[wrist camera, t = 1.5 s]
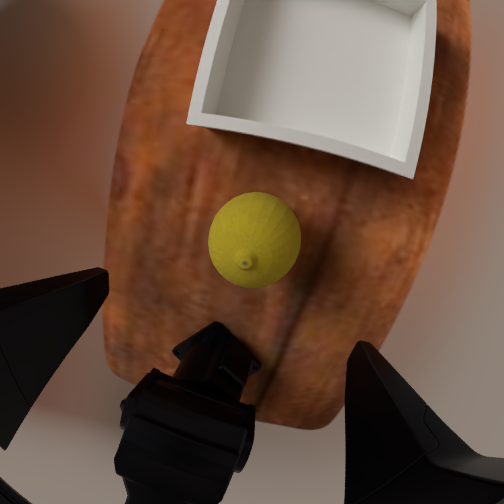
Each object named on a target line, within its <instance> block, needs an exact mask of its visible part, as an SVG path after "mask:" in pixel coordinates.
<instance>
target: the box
mask: <svg viewBox="0 0 504 504" xmlns="http://www.w3.org/2000/svg"><path fill="white" fill-rule="evenodd" d="M435 43H436V0H217V3H216V7H215V10H214V13H213V16H212V20H211V23H210V27H209V30H208V34H207V37H206V41H205V45H204V48H203V52H202V56H201V60H200V64H199V68H198V72H197V76H196V81H195V85H194V89H193V94H192V99H191V103H190V108H189V113H188V118H187V123H186V124H189V125H194V126H199V127H204V128H210V129H217V130H223V131H229V132H235V133H240V134H246V135H251V136H256V137H261V138H266V139H271V140H276V141H280V142H285V143H289V144H293V145H298V146H302V147H306V148H310V149H314V150H318V151H321V152H325V153H329V154H332V155H336V156H339V157H343V158H346V159H350V160H353V161H356V162H360V163H363V164H366V165H369V166H372V167H375V168H378V169H381V170H384V171H387V172H390V173H393V174H397V175H400V176H403V177H407V178H410V179H413V178H414V174H415V170H416V166H417V162H418V157H419V153H420V148H421V144H422V139H423V134H424V129H425V124H426V118H427V112H428V106H429V100H430V93H431V85H432V77H433V68H434V57H435Z"/></svg>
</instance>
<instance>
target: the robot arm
mask: <svg viewBox="0 0 504 504" xmlns="http://www.w3.org/2000/svg"><path fill="white" fill-rule="evenodd" d="M108 294H109V274H108V271H107V270H105V269H102V268H99V267H96V268H92V269H87V270H82V271H78V272H73V273H68V274H63V275H59V276H54V277H50V278H46V279H41V280H36V281H32V282H27V283H23V284H19V285H13V286H9V287H4V288H0V447H1V448H2V449H3V450H6V449H7V447H8V446H9V444H10V442H11V440H12V439H13V437H14V435H15V433H16V431H17V430H18V428H19V427H20V425H21V423H22V422H23V420H24V418H25V417H26V415H27V414H28V412H29V411H30V407H32V406H33V404H34V402H35V401H36V399H37V398H38V396H39V395H40V393H41V392H42V390H43V388H44V387H45V386H46V384H47V383H48V381H49V380H50V378H51V377H52V375H53V374H54V373H55V371H56V370H57V368H58V367H59V365H60V364H61V363H62V361H63V360H64V359H65V357H66V355H67V354H68V353H69V352H70V350H71V349H72V348H73V346H74V345H75V344H76V342H77V341H78V339H79V338H80V337H81V336H82V334H83V333H84V331H85V330H86V329H87V327H88V326H89V324H90V323H91V322H92V320H93V318H94V317H95V315H96V314H97V312H98V310H99V309H100V307H101V306H102V304H103V302H104V301H105V299H106V298H107V296H108ZM214 326H216V327H218V328H215V327H214ZM177 351H178V352H177ZM172 352H173V354H174V355H175V356H176V357H177V358H178V359H179V360H180V361H181V362H180V364H179V366H178V368H177V370H176V371H175V373H174V375H173V377H171V376H169V375H167V374H164V373H162V372H160V370H158V369H156V368H153V369H152V370H151V372H150V373H147V374H146V376H145V377H144V378H143V379H142V380H141V381H140V382H139V383H138V385H137V386H136V387H135V388H134V389H133V390H132V391H131V392H130V394H129V395H128V397H127V398H125V399H124V400H122V402H121V404H120V408H121V410H122V417H121V421H120V427H121V429H123V430H124V433H123V436H122V439H121V441H120V444H119V447H118V450H117V453H116V455H115V457H114V464H115V470H116V474H118V475H120V476H121V477H122V478H123V481H124V485H125V488H126V491H127V495H128V496H127V499H126V502H125V504H218V503H219V502H221V501H222V499H223V496H224V494H225V492H226V490H227V487H228V485H229V483H230V480H231V478H232V475H233V473H234V472H236V473H240V472H241V471H242V470H243V468H244V466H245V464H246V462H247V460H248V458H249V455H250V452H251V449H252V445H253V441H254V430H255V405H251V404H249V405H248V404H244V403H241V402H240V398H241V394H242V390H243V387H245V385H246V381H247V377H248V376H249V375H251V374H253V373H255V372H257V371H259V370H260V369H261V363H260V362H259V361H258V360H257V359H256V358H255V357H254V356H253V355H252V354H251V353H250V352H249V351H248V350H247V349H246V348H245V347H244V346H243V345H242V344H241V343H240V342H239V341H238V340H237V339H236V338H235V337H233V336H232V335H231V334H230V333H229V332H228V331H227V330H226V329H225V328H224V327H223V326H222V325H221V324H220V323H219V322H212V323H211V324H209V325H208V326H206V327H205V328H203V329H202V330H200V331H199V332H197V333H196V334H194V335H192V336H191V337H189V338H188V339H186V340H185V341H183V342H181V343H180V344H178V345H177V346H175V347H174V348H173V350H172ZM255 366H258V367H255ZM345 435H346V438H345V439H346V464H345V465H346V466H345V470H346V471H345V498H344V504H504V458H495V457H486V456H483V455H480V454H478V453H477V452H475V451H474V450H473V449H471V448H470V447H469V446H468V445H467V444H466V443H465V442H464V441H463V440H462V439H461V438H460V437H458V435H457V434H456V433H454V432H453V431H452V430H451V429H450V428H449V427H448V426H447V425H446V424H445V423H444V422H443V421H442V420H441V419H440V418H439V417H438V416H437V415H436V413H435V412H434V411H433V410H432V409H431V408H430V407H429V406H428V405H427V404H426V402H425V401H424V400H423V399H422V398H421V397H420V396H419V395H418V394H417V393H416V392H415V390H414V389H413V388H412V387H411V386H410V385H409V384H408V383H407V382H406V381H405V379H404V378H403V377H402V376H401V375H400V374H399V373H398V372H397V371H396V370H395V369H394V368H393V367H392V365H391V364H390V363H389V362H388V361H387V360H386V359H385V358H384V357H383V356H382V355H381V354H380V353H379V352H378V350H377V349H376V348H375V347H374V346H373V345H372V344H371V343H370V342H366V341H358V342H357V343H356V345H355V347H354V349H353V351H352V352H351V354H350V356H349V358H348V361H347V372H346V387H345ZM0 504H32V503H31V502H29V501H28V500H27V499H25V498H24V497H23V496H22V495H20V494H19V493H18V492H17V491H16V490H14V489H13V488H12V487H11V486H10V485H8V484H7V483H6V482H5V481H4V480H3V479H2V478H1V477H0Z"/></svg>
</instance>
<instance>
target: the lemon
mask: <svg viewBox="0 0 504 504" xmlns="http://www.w3.org/2000/svg"><path fill="white" fill-rule="evenodd" d="M208 245H209V253H210V256H211V259H212V262H213V264H214V266H215V267H216V269H217V270H218V272H219V273H220V274H221V275H222V276H223V277H224V278H226V279H227V280H228V281H230V282H232V283H233V284H235V285H238V286H242V287H245V288H260V287H266V286H268V285H270V284H273V283H275V282H277V281H278V280H279V279H281V278H282V277H283V276H285V275H286V274H287V273H288V271H289V270H290V269H291V267H292V266H293V265H294V263H295V261H296V259H297V256H298V254H299V251H300V245H301V232H300V225H299V222H298V220H297V218H296V216H295V214H294V212H293V211H292V210H291V208H290V207H289V206H288V205H287V204H286V203H285V202H283V201H282V200H281V199H279V198H278V197H275V196H273V195H270V194H268V193H261V192H252V193H245V194H242V195H240V196H237V197H235V198H233V199H232V200H230V201H229V202H228V203H226V204H225V205H224V206H223V207H222V208H221V209H220V211H219V212H218V213H217V214H216V216H215V218H214V220H213V223H212V225H211V227H210V232H209V240H208Z"/></svg>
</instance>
